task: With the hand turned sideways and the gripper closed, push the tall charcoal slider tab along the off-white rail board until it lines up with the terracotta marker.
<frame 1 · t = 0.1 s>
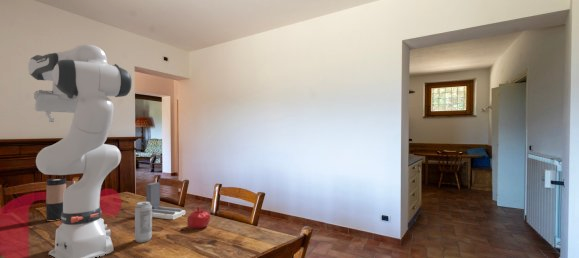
hand: (65, 122, 123), 48 cm above the table, tool pointing down, fingers open, 8 cm apart
travel mug: (56, 219, 135), on the table
fader board: (162, 214, 142), on the table
pomegranate: (198, 227, 125), on the table
fader tab: (153, 196, 144), point 9 cm above the table, slide at 0.0 cm
energy drink can: (143, 240, 109), on the table
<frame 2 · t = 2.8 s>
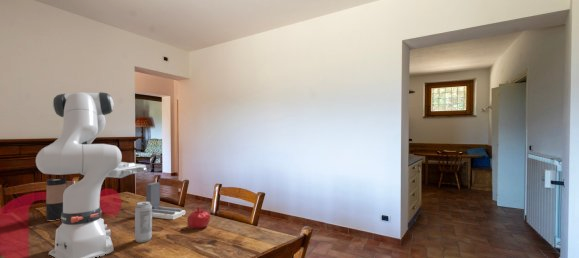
hand: (139, 171, 147), 22 cm above the table, tool horizontal, fingers open, 8 cm apart
nothing on the table moved.
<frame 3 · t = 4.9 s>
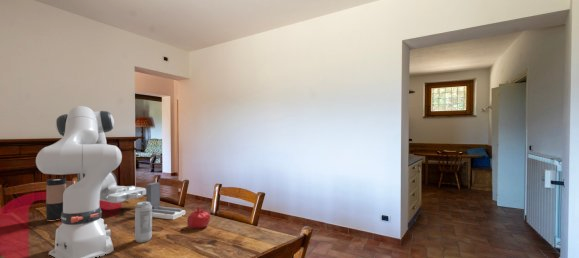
hand: (139, 196, 147), 9 cm above the table, tool horizontal, fingers closed
nothing on the table moved.
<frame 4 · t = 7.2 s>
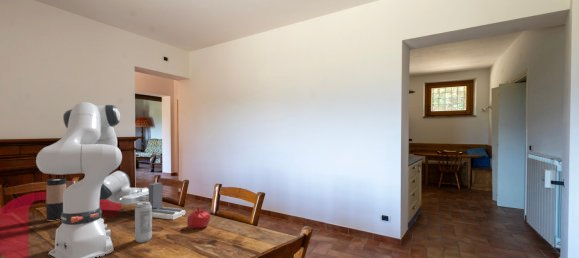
hand: (153, 197, 144), 8 cm above the table, tool horizontal, fingers closed, pressing on fader tab
fader tab: (155, 196, 144), point 9 cm above the table, slide at 1.5 cm, touching gripper
everything else where it was.
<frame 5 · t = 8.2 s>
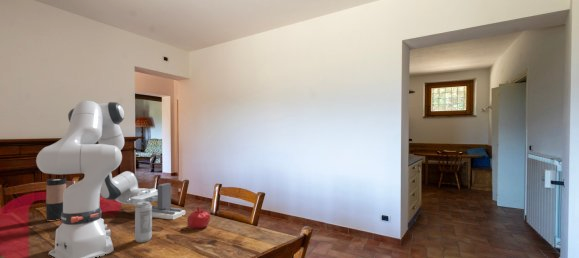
hand: (161, 198, 142), 8 cm above the table, tool horizontal, fingers closed, pressing on fader tab
fader tab: (164, 197, 142), point 9 cm above the table, slide at 7.3 cm, touching gripper
everything else where it was.
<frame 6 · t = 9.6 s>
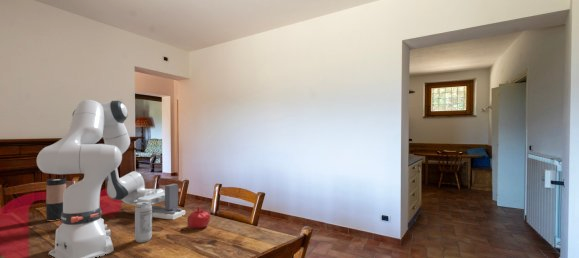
hand: (168, 199, 141), 8 cm above the table, tool horizontal, fingers closed, pressing on fader tab
fader tab: (171, 198, 141), point 9 cm above the table, slide at 11.9 cm, touching gripper
everything else where it was.
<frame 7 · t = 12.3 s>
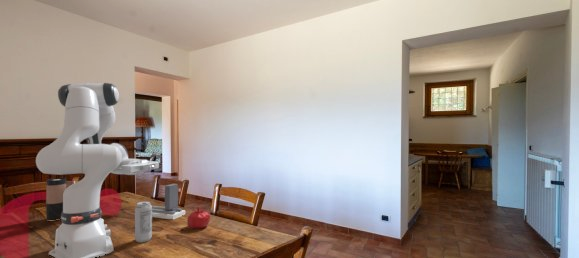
hand: (152, 167, 144), 25 cm above the table, tool horizontal, fingers closed
fader tab: (171, 198, 141), point 9 cm above the table, slide at 11.9 cm
everything else where it was.
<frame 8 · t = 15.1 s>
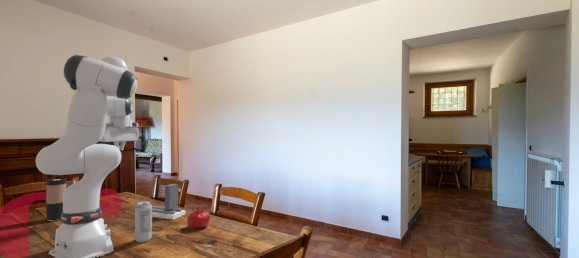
hand: (119, 150, 139), 34 cm above the table, tool pointing down, fingers closed
nothing on the table moved.
at the end: fader tab slide at 11.9 cm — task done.
